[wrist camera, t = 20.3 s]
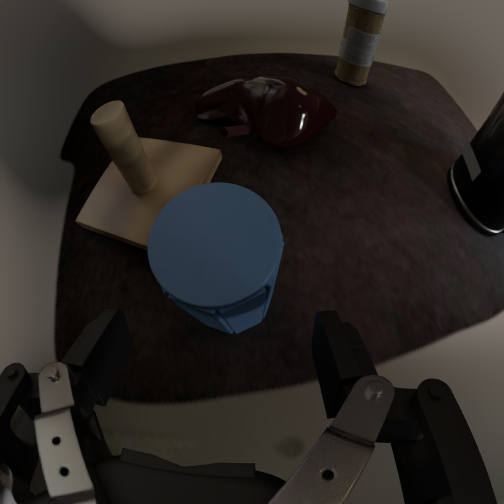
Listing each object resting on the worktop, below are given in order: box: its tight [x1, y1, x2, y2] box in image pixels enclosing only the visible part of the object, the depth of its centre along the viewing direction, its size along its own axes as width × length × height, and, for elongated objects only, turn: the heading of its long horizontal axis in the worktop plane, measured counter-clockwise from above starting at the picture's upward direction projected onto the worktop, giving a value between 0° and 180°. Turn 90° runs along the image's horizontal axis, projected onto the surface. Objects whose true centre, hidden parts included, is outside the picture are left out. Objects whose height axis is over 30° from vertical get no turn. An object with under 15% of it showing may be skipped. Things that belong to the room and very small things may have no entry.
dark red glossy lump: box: [195, 76, 337, 148], centre depth 23 cm, size 6×12×11 cm
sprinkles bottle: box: [335, 0, 389, 86], centre depth 23 cm, size 5×5×13 cm
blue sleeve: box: [148, 183, 284, 334], centre depth 14 cm, size 5×5×9 cm
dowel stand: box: [76, 101, 222, 251], centre depth 18 cm, size 10×10×9 cm
